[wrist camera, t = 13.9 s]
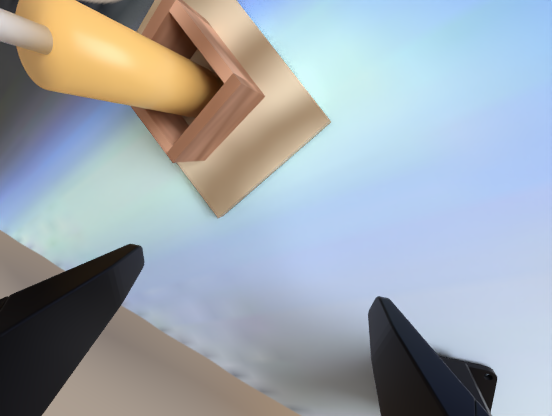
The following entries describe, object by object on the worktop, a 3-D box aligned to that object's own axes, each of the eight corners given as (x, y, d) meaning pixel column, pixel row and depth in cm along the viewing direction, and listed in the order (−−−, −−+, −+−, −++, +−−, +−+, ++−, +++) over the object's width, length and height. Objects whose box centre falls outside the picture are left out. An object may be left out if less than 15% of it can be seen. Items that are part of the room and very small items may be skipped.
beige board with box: (331, 122, 17) (320, 113, 13) (223, 215, 22) (190, 231, 18) (196, -51, 18) (145, -112, 14) (119, 77, 23) (64, 61, 18)
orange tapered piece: (217, 127, 19) (-161, 68, 5) (181, 109, 20) (-233, 17, 6) (231, 80, 18) (-209, -154, 4) (193, 63, 19) (-293, -184, 5)
